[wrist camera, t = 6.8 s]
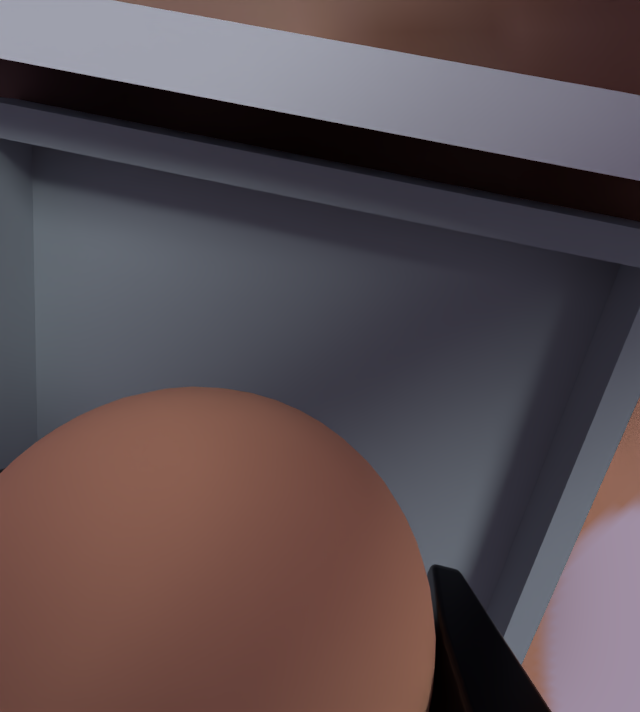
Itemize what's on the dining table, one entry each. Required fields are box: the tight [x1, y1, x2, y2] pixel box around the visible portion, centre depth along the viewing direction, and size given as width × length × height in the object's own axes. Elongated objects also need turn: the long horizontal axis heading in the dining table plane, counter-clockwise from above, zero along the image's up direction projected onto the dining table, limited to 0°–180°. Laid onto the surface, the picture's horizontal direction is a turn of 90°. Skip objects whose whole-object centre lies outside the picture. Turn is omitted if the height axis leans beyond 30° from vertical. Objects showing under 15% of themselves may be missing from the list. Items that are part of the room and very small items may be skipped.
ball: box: [0, 387, 436, 712], centre depth 7 cm, size 6×6×6 cm
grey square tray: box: [0, 97, 640, 665], centre depth 11 cm, size 11×11×2 cm
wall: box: [0, 0, 640, 181], centre depth 8 cm, size 18×1×3 cm, turn 80°
